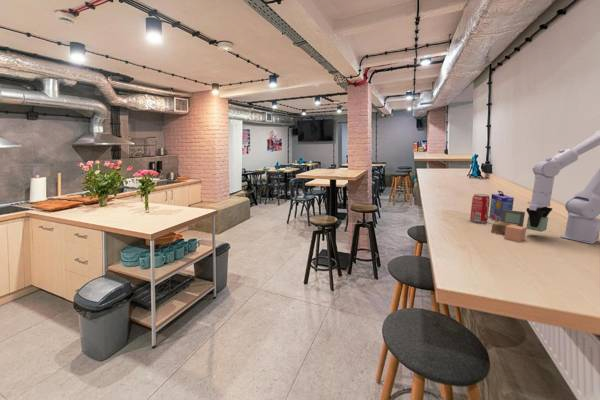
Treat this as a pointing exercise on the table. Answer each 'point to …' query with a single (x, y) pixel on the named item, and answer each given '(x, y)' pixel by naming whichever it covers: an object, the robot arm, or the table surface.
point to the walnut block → (500, 227)
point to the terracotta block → (515, 233)
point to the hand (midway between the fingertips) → (536, 225)
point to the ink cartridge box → (500, 205)
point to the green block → (541, 226)
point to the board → (513, 217)
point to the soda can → (480, 208)
